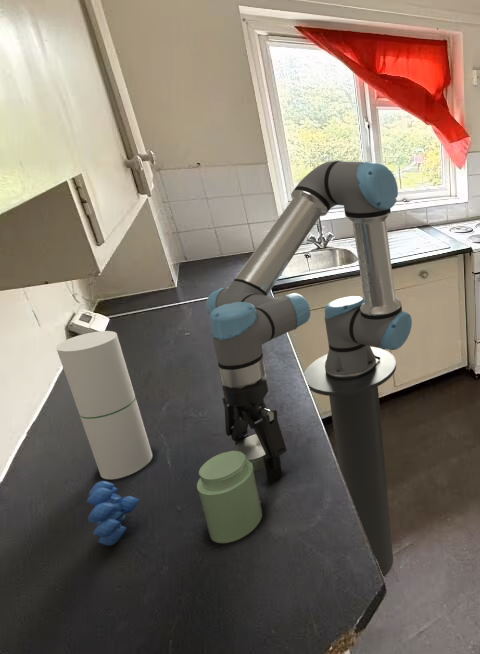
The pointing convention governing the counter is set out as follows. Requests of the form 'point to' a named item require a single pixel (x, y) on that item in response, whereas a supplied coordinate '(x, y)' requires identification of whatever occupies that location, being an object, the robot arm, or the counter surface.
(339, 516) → the counter surface
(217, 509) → the flask
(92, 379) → the container
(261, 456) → the flask lid
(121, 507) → the grapes
